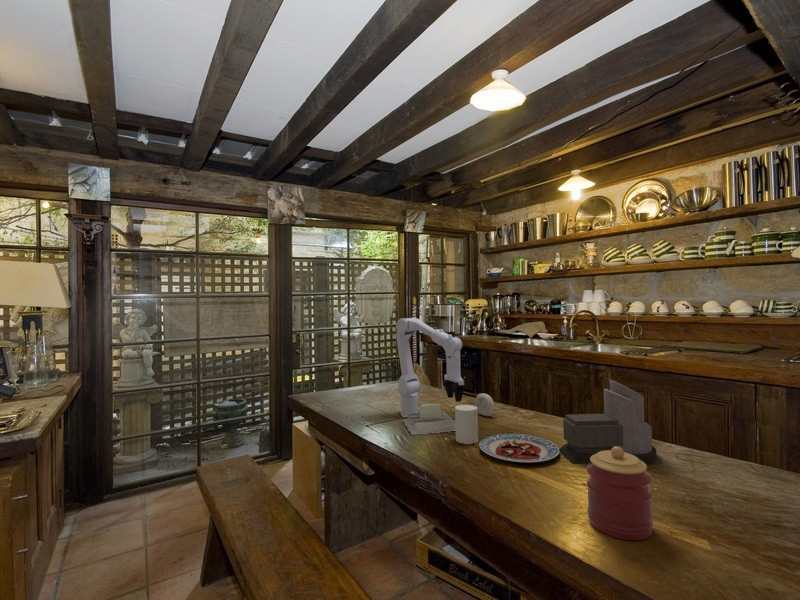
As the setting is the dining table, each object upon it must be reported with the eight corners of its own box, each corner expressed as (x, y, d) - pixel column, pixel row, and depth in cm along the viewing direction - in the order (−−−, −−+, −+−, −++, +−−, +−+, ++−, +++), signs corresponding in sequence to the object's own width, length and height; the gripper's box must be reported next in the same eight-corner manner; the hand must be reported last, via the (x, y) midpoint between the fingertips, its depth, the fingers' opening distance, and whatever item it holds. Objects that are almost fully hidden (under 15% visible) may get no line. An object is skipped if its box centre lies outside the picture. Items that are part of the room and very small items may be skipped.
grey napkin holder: (640, 445, 139) (639, 374, 139) (673, 464, 123) (671, 384, 123) (554, 448, 139) (552, 377, 139) (575, 467, 123) (573, 386, 123)
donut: (474, 414, 182) (473, 392, 182) (479, 412, 184) (479, 391, 184) (491, 419, 174) (490, 396, 174) (496, 417, 176) (495, 394, 176)
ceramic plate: (567, 471, 121) (566, 461, 121) (479, 466, 126) (479, 456, 126) (552, 441, 146) (552, 433, 146) (479, 438, 151) (479, 430, 151)
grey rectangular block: (420, 424, 166) (420, 404, 166) (439, 422, 167) (439, 403, 167) (421, 425, 164) (421, 405, 164) (440, 424, 165) (440, 404, 166)
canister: (630, 509, 98) (628, 436, 98) (667, 541, 85) (665, 456, 85) (577, 511, 97) (575, 438, 97) (606, 543, 84) (604, 459, 84)
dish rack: (403, 421, 173) (402, 412, 173) (448, 418, 176) (447, 409, 176) (411, 435, 155) (410, 425, 155) (461, 431, 159) (460, 421, 159)
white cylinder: (479, 443, 144) (479, 410, 144) (457, 444, 145) (456, 410, 145) (476, 436, 153) (475, 404, 153) (454, 436, 153) (453, 405, 153)
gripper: (437, 364, 173) (438, 396, 173) (452, 370, 159) (453, 404, 159) (452, 363, 175) (453, 395, 175) (468, 368, 162) (469, 402, 162)
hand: (454, 399), depth 167 cm, fingers open, 7 cm apart
